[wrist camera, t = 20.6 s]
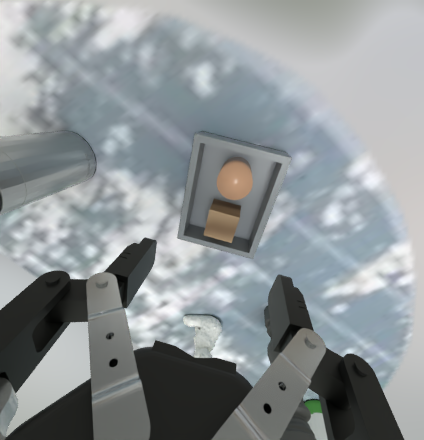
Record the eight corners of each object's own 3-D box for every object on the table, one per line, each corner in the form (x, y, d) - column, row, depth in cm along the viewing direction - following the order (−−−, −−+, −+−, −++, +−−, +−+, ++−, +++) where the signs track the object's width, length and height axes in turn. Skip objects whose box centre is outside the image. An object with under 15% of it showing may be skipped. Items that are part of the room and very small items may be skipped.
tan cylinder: (227, 151, 35) (224, 159, 29) (256, 162, 35) (258, 172, 29) (217, 180, 37) (211, 192, 31) (244, 190, 37) (244, 205, 31)
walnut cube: (214, 198, 39) (209, 209, 34) (240, 205, 39) (239, 217, 34) (208, 222, 41) (203, 235, 37) (233, 229, 41) (231, 243, 36)
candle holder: (289, 301, 47) (325, 465, 25) (294, 320, 50) (330, 487, 28) (261, 304, 49) (271, 461, 27) (267, 322, 51) (280, 481, 29)
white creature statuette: (182, 314, 55) (166, 362, 44) (210, 304, 52) (200, 353, 41) (203, 337, 58) (193, 388, 47) (230, 329, 54) (226, 381, 44)
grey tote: (184, 225, 43) (177, 238, 38) (201, 131, 35) (194, 133, 30) (252, 243, 42) (252, 259, 38) (286, 152, 34) (292, 158, 30)
